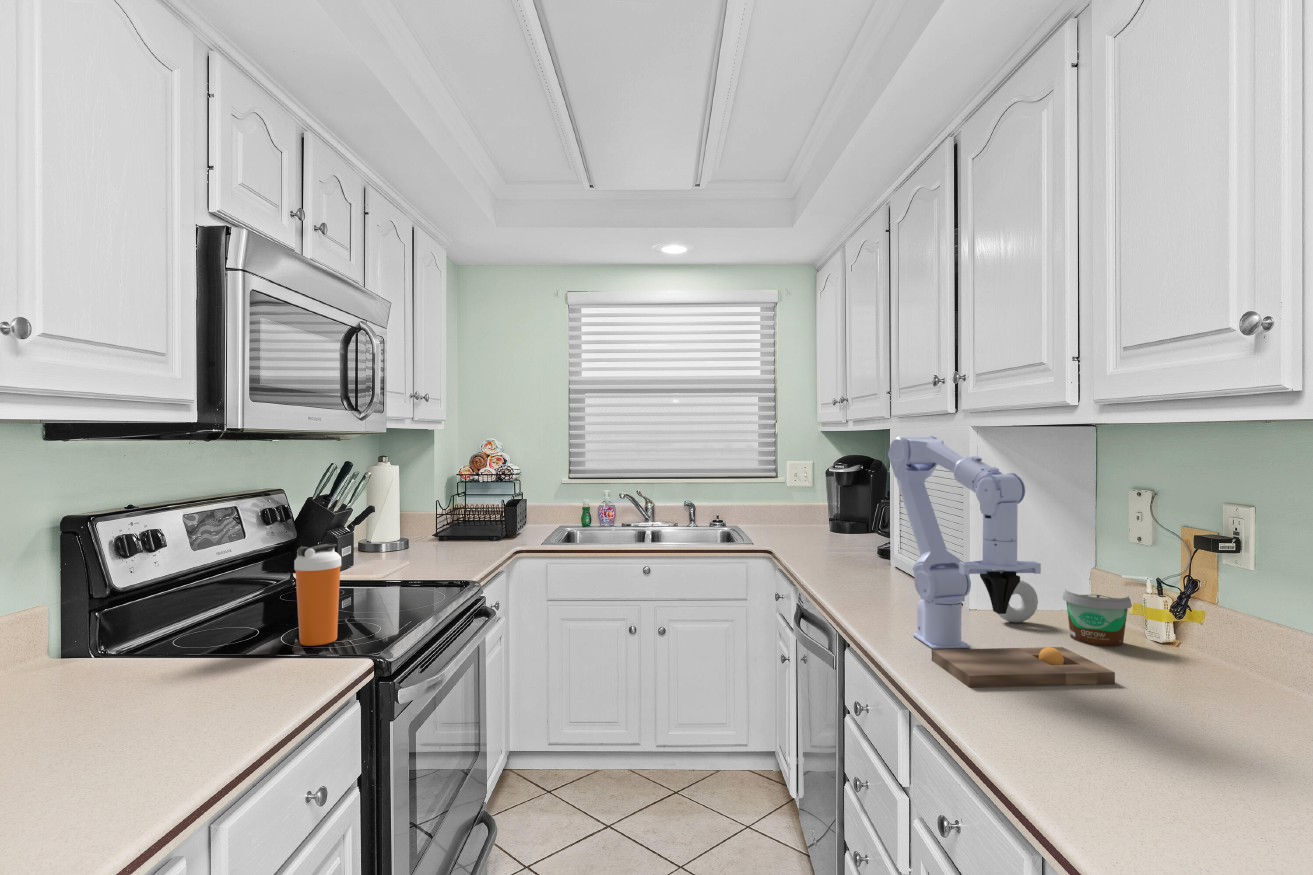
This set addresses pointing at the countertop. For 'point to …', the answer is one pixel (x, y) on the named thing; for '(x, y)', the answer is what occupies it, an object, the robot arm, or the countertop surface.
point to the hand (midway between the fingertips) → (999, 612)
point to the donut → (1022, 604)
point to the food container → (1097, 618)
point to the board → (1019, 667)
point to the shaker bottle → (317, 593)
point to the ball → (1051, 656)
